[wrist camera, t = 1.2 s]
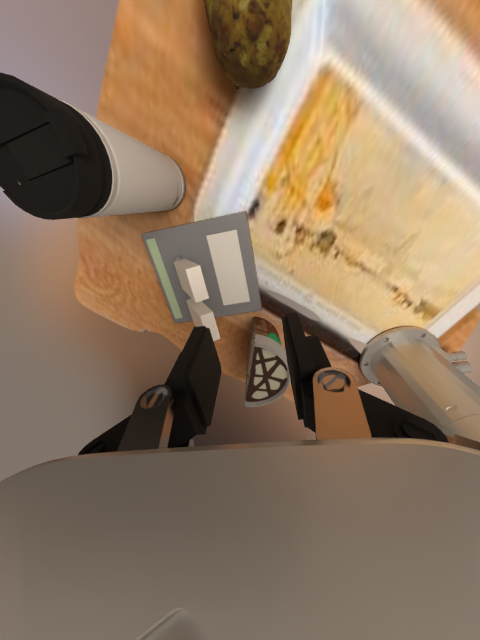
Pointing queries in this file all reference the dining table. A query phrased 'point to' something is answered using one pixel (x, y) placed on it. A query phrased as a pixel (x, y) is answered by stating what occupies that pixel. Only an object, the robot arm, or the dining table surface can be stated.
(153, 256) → the panel
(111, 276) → the dining table surface
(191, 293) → the paddle on
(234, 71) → the potato
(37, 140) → the travel mug
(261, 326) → the food container
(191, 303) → the paddle
